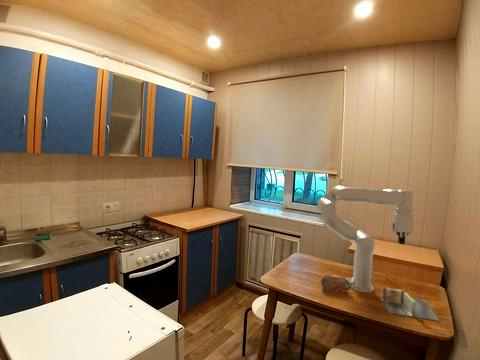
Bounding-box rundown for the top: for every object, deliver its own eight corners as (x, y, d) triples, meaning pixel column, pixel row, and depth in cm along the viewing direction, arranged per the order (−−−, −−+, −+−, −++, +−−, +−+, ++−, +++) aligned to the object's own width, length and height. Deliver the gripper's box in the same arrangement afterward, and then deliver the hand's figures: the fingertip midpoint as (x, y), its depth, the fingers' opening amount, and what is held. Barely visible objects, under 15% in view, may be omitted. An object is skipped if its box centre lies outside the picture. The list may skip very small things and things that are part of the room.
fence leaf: (402, 303, 138) (403, 291, 137) (405, 303, 137) (406, 292, 137) (412, 314, 128) (413, 302, 127) (415, 315, 128) (416, 302, 127)
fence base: (386, 313, 130) (387, 299, 130) (378, 293, 148) (379, 281, 148) (439, 321, 124) (441, 307, 123) (424, 300, 142) (425, 287, 142)
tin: (321, 289, 153) (321, 275, 152) (321, 286, 156) (322, 272, 155) (349, 294, 148) (350, 279, 147) (349, 291, 151) (350, 277, 150)
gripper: (412, 210, 154) (410, 241, 155) (386, 210, 154) (384, 241, 155) (421, 213, 146) (418, 245, 148) (394, 212, 146) (392, 245, 148)
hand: (401, 243), depth 152 cm, fingers closed
